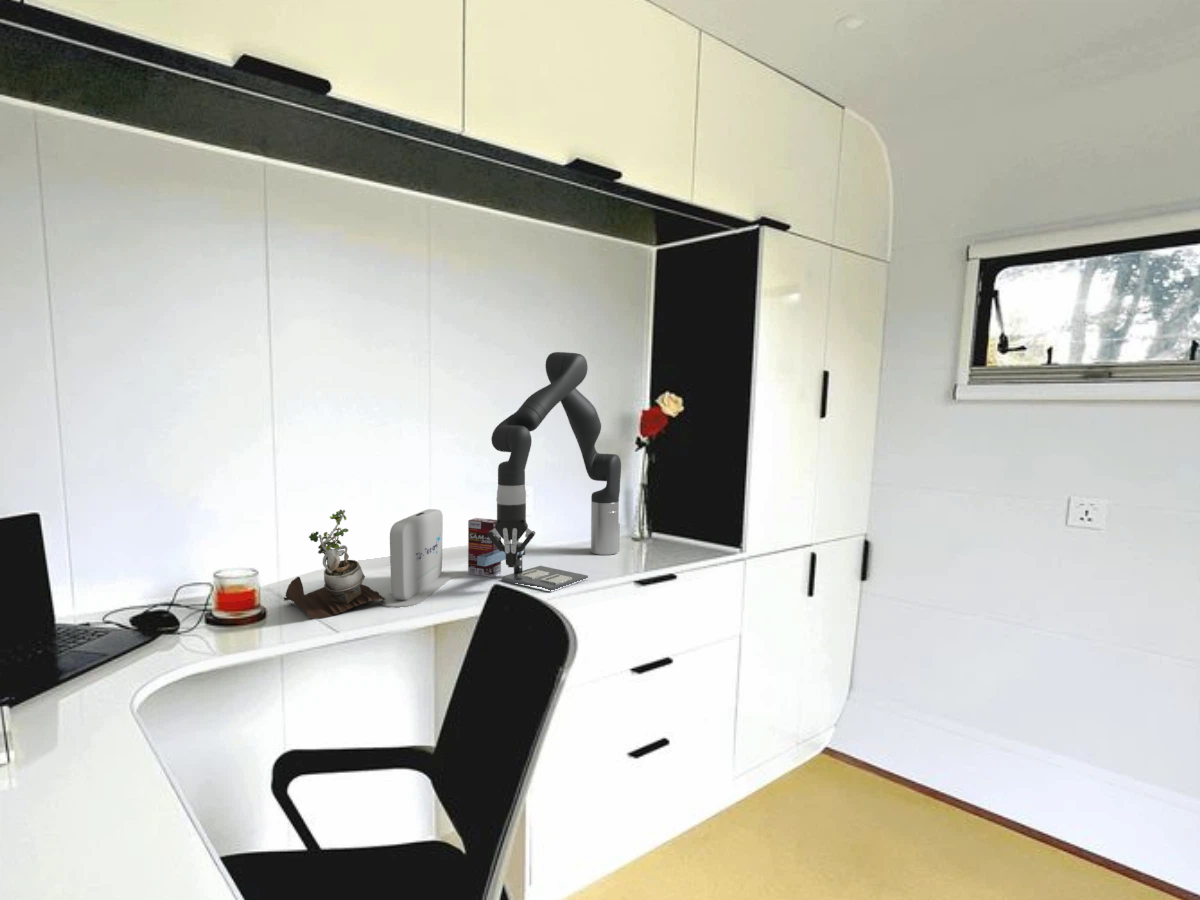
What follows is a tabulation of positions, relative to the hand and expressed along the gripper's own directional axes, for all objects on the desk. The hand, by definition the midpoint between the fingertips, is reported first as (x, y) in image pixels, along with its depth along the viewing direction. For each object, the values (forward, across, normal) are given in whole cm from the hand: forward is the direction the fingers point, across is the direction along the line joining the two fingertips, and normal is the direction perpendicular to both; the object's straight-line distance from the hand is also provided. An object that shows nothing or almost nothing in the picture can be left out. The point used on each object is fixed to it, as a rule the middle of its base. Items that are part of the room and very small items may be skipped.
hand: (511, 566), depth 167 cm
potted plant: (+6, +40, +16) cm, 44 cm away
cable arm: (0, +4, -7) cm, 8 cm away
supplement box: (+7, +11, -16) cm, 20 cm away
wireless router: (+7, +24, +1) cm, 25 cm away
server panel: (+6, -8, -11) cm, 14 cm away
